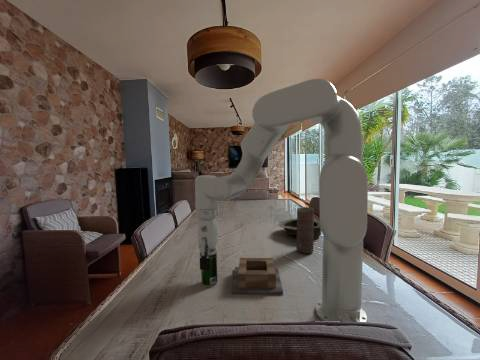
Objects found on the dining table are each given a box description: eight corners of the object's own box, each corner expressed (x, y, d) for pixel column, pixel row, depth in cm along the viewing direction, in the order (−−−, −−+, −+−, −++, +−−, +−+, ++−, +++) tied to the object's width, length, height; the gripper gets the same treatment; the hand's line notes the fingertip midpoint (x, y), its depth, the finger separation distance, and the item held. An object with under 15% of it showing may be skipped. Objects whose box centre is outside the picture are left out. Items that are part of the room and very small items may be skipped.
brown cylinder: (314, 255, 99) (314, 210, 97) (296, 254, 101) (296, 209, 99) (312, 249, 107) (312, 206, 105) (296, 248, 108) (296, 205, 106)
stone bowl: (333, 242, 114) (332, 224, 113) (282, 246, 114) (281, 228, 114) (317, 226, 138) (316, 211, 137) (275, 230, 139) (274, 215, 138)
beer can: (220, 283, 79) (219, 248, 78) (208, 289, 75) (207, 253, 74) (210, 277, 82) (209, 245, 81) (198, 283, 79) (197, 249, 77)
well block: (283, 294, 71) (283, 277, 71) (231, 293, 72) (231, 277, 72) (277, 269, 87) (277, 255, 87) (235, 269, 88) (234, 255, 88)
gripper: (214, 220, 68) (214, 275, 69) (221, 207, 85) (222, 252, 87) (188, 219, 68) (190, 275, 70) (201, 207, 85) (202, 251, 87)
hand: (207, 262), depth 78 cm, fingers open, 9 cm apart
